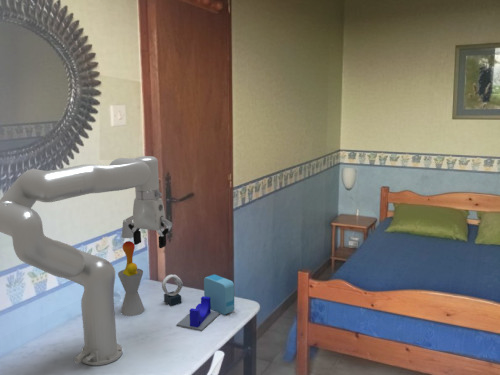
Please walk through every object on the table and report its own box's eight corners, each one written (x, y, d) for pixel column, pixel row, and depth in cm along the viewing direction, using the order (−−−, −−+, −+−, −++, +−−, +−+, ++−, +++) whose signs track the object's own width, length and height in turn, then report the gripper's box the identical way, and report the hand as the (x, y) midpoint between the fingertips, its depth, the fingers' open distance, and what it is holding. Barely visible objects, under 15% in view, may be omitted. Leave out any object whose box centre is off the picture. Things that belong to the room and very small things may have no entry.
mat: (201, 331, 171) (201, 329, 171) (176, 326, 175) (176, 324, 175) (220, 314, 184) (220, 312, 184) (195, 309, 188) (195, 308, 187)
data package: (234, 312, 185) (234, 281, 183) (225, 316, 182) (225, 285, 180) (213, 302, 194) (212, 273, 191) (204, 306, 190) (203, 276, 188)
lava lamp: (115, 310, 188) (109, 219, 181) (137, 303, 193) (132, 215, 187) (127, 318, 181) (122, 224, 174) (149, 310, 187) (145, 219, 180)
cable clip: (199, 311, 185) (198, 295, 184) (210, 312, 184) (210, 297, 183) (185, 325, 174) (185, 309, 173) (198, 327, 173) (197, 311, 171)
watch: (185, 301, 194) (184, 274, 192) (167, 307, 190) (166, 280, 187) (178, 297, 199) (177, 270, 197) (160, 302, 194) (158, 275, 192)
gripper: (176, 194, 163) (178, 245, 166) (132, 190, 169) (134, 239, 173) (164, 199, 156) (166, 251, 159) (118, 194, 163) (121, 245, 166)
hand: (149, 245), depth 166 cm, fingers open, 9 cm apart
